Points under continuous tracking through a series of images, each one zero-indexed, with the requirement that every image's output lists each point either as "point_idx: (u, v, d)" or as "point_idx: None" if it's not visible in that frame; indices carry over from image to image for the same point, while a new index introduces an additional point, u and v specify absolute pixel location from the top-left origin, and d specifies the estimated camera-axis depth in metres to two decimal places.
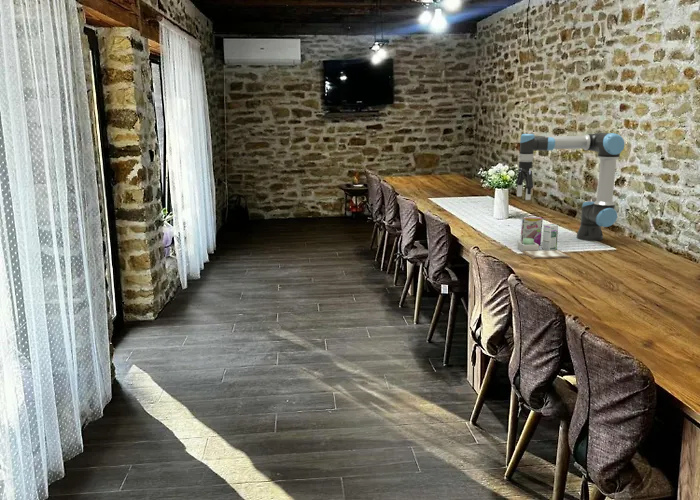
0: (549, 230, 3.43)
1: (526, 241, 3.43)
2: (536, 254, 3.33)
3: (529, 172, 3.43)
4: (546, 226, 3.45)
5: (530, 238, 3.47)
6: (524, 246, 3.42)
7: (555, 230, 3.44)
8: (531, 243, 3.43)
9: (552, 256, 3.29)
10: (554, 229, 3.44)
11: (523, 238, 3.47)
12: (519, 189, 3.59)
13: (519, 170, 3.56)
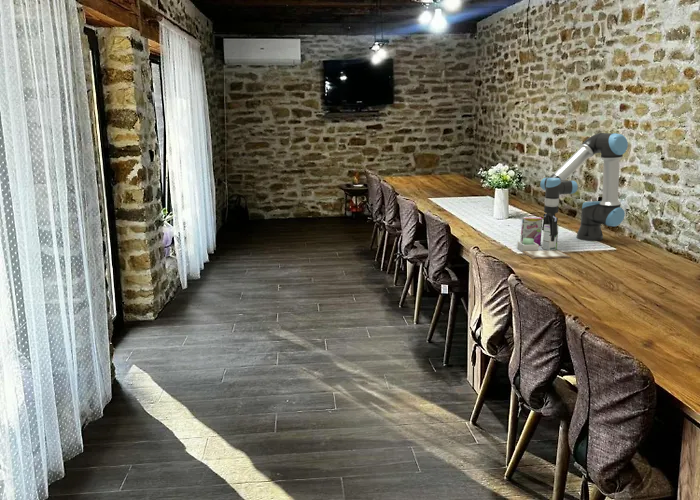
0: (549, 230, 3.43)
1: (526, 241, 3.43)
2: (536, 254, 3.33)
3: (555, 219, 3.37)
4: (546, 226, 3.45)
5: (530, 238, 3.47)
6: (524, 246, 3.42)
7: None
8: (531, 243, 3.43)
9: (552, 256, 3.29)
10: None
11: (523, 238, 3.47)
12: None
13: (544, 215, 3.49)
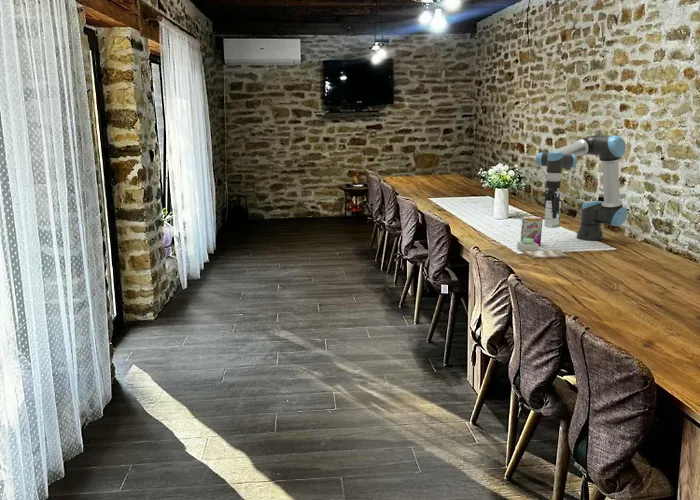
0: None
1: (526, 241, 3.43)
2: (536, 254, 3.33)
3: (557, 195, 3.20)
4: (549, 202, 3.27)
5: (530, 238, 3.47)
6: (524, 246, 3.42)
7: None
8: (531, 243, 3.43)
9: (552, 256, 3.29)
10: None
11: (523, 238, 3.47)
12: None
13: (545, 191, 3.31)
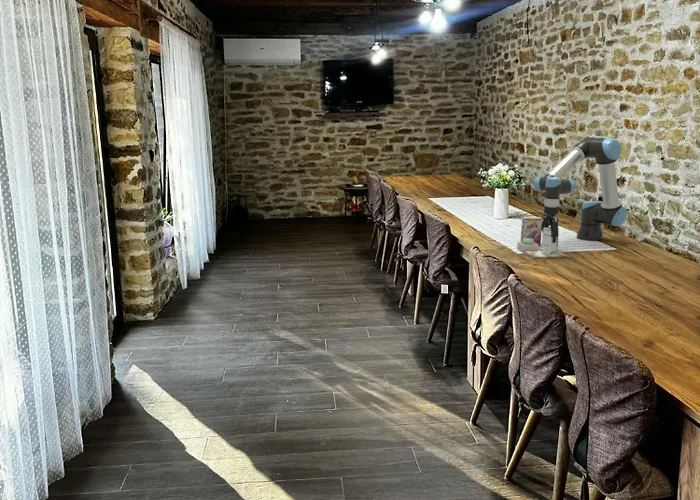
0: (549, 233, 3.29)
1: (526, 241, 3.43)
2: (536, 254, 3.33)
3: (555, 220, 3.23)
4: (546, 229, 3.31)
5: (530, 238, 3.47)
6: (524, 246, 3.42)
7: None
8: (531, 243, 3.43)
9: (552, 256, 3.29)
10: None
11: (523, 238, 3.47)
12: None
13: (544, 215, 3.35)
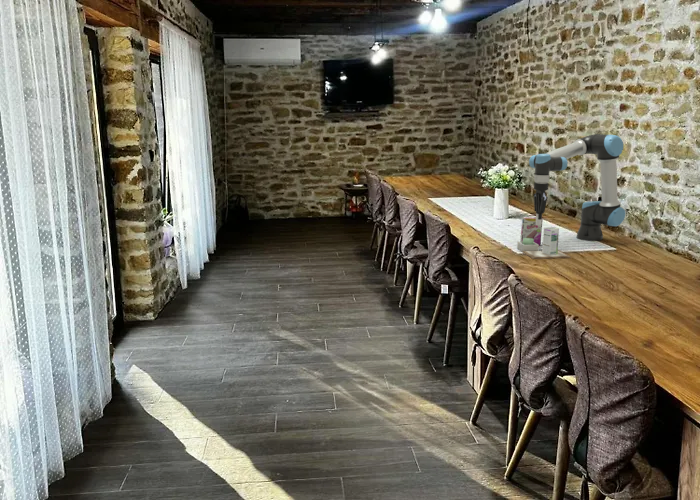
0: (549, 234, 3.29)
1: (526, 241, 3.43)
2: (536, 254, 3.33)
3: (544, 199, 3.28)
4: (546, 229, 3.31)
5: (530, 238, 3.47)
6: (524, 246, 3.42)
7: (556, 234, 3.30)
8: (531, 243, 3.43)
9: (552, 256, 3.29)
10: (555, 233, 3.29)
11: (523, 238, 3.47)
12: None
13: (534, 195, 3.39)
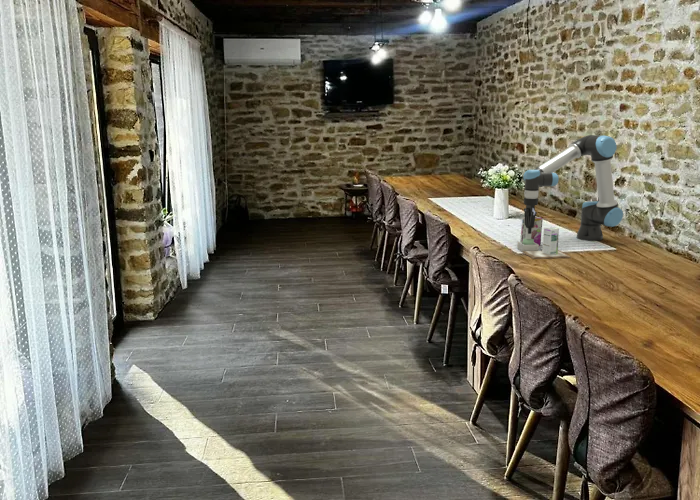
0: (549, 234, 3.29)
1: (526, 241, 3.44)
2: (536, 254, 3.33)
3: (533, 213, 3.36)
4: (546, 229, 3.31)
5: None
6: (524, 246, 3.42)
7: (556, 234, 3.30)
8: (531, 243, 3.43)
9: (552, 256, 3.29)
10: (555, 233, 3.29)
11: (524, 238, 3.47)
12: None
13: (524, 209, 3.47)
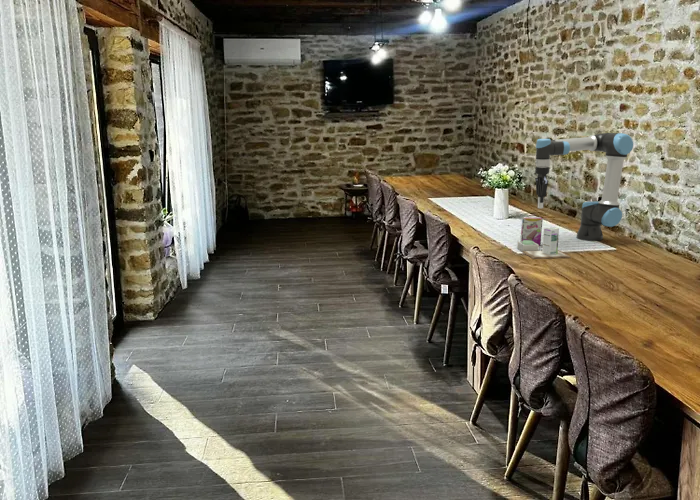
0: (549, 234, 3.29)
1: (526, 243, 3.44)
2: (536, 254, 3.33)
3: (545, 182, 3.38)
4: (546, 229, 3.31)
5: (530, 240, 3.47)
6: (524, 246, 3.42)
7: (556, 234, 3.30)
8: None
9: (552, 256, 3.29)
10: (555, 233, 3.29)
11: (523, 240, 3.47)
12: None
13: (536, 179, 3.48)
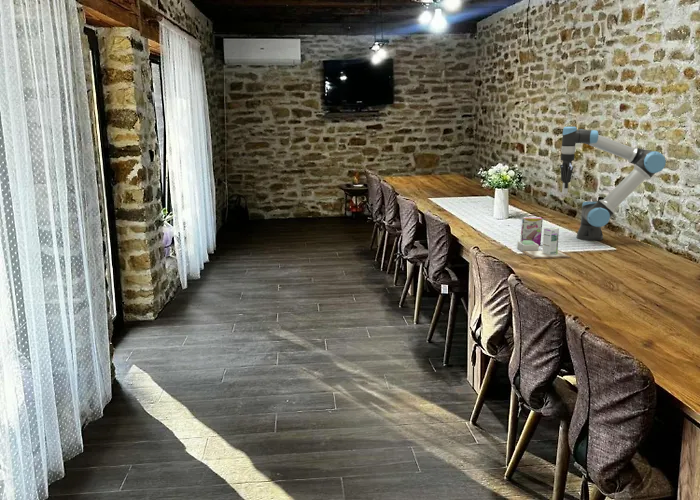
0: (549, 234, 3.29)
1: (526, 243, 3.44)
2: (536, 254, 3.33)
3: (571, 168, 3.51)
4: (546, 229, 3.31)
5: (530, 240, 3.47)
6: (524, 246, 3.42)
7: (556, 234, 3.30)
8: None
9: (552, 256, 3.29)
10: (555, 233, 3.29)
11: (523, 240, 3.47)
12: (564, 186, 3.60)
13: (561, 165, 3.62)
